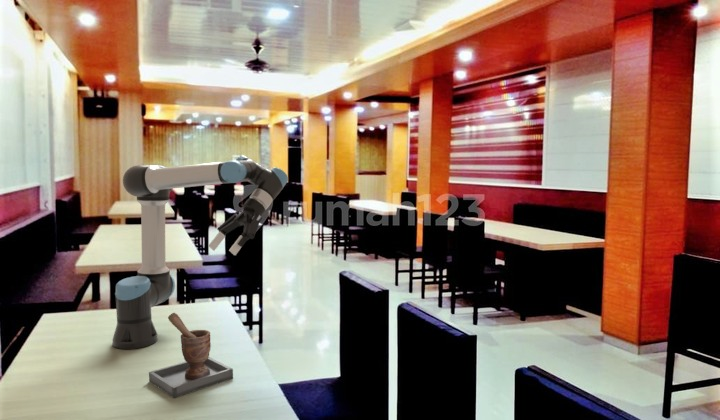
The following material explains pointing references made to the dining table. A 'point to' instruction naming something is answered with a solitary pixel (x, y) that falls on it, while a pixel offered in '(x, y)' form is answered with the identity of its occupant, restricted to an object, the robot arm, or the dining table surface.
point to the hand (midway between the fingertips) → (221, 250)
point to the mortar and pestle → (193, 348)
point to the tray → (178, 385)
